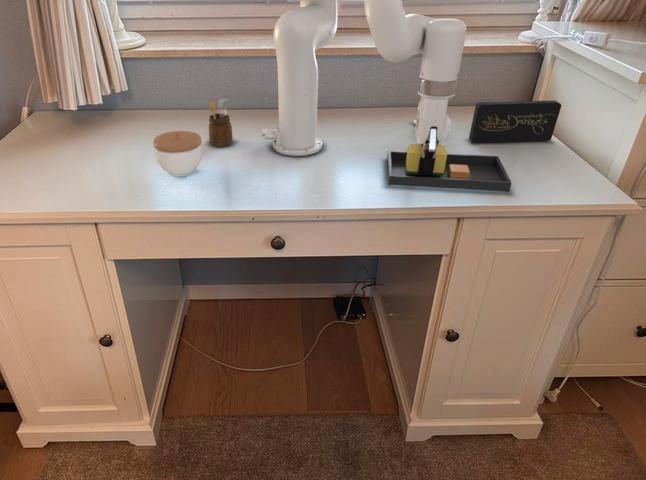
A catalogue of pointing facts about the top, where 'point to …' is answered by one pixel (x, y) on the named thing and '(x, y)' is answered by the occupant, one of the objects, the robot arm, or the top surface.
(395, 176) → the black shallow rectangular tray
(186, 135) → the trinket box
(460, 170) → the orange square block
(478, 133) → the nameplate
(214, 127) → the utensil holder
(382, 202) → the top surface
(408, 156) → the sponge
